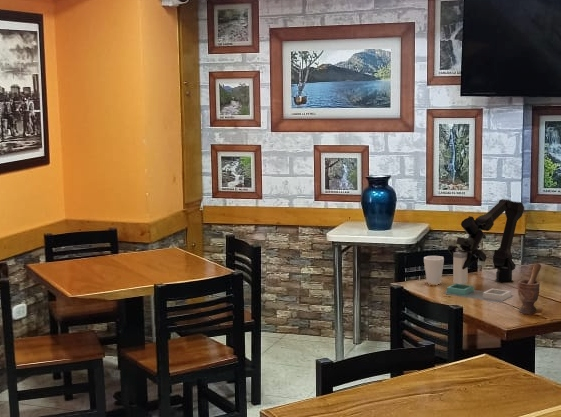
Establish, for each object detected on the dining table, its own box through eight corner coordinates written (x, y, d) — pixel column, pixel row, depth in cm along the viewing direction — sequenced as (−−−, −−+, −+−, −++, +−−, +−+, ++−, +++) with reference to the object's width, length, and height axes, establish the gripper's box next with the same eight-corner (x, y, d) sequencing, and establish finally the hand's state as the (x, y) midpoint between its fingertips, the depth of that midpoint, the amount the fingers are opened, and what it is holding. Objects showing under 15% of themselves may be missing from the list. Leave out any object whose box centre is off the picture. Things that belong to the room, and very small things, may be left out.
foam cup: (442, 281, 395) (442, 255, 393) (444, 286, 386) (444, 259, 384) (423, 281, 396) (423, 255, 394) (424, 286, 387) (424, 260, 385)
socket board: (442, 295, 370) (442, 288, 369) (457, 289, 380) (457, 282, 380) (500, 304, 352) (501, 297, 351) (514, 297, 363) (514, 290, 362)
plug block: (459, 280, 374) (459, 251, 372) (467, 282, 370) (467, 252, 368) (453, 282, 371) (453, 252, 369) (461, 284, 368) (461, 254, 366)
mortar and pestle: (521, 306, 348) (522, 261, 345) (542, 308, 344) (543, 262, 341) (515, 313, 338) (516, 266, 335) (536, 316, 334) (537, 268, 331)
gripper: (449, 227, 377) (434, 254, 372) (482, 232, 362) (467, 260, 357) (460, 242, 383) (445, 268, 378) (493, 247, 369) (478, 275, 363)
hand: (458, 268), depth 369 cm, fingers closed on plug block, 4 cm apart
